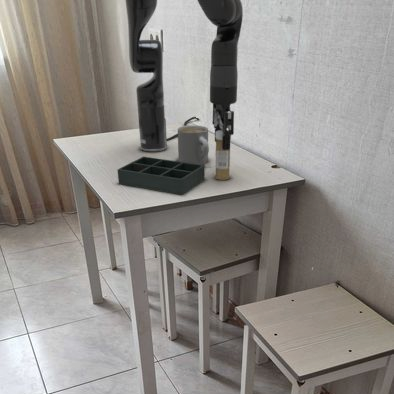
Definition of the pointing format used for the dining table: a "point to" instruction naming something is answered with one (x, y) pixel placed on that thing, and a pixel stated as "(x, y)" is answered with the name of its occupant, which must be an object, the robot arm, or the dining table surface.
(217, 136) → the sprinkles bottle
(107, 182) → the dining table surface
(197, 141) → the coffee mug
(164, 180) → the rack
